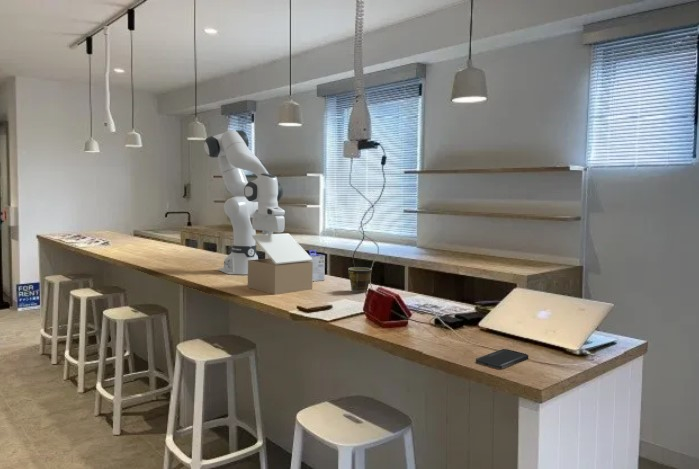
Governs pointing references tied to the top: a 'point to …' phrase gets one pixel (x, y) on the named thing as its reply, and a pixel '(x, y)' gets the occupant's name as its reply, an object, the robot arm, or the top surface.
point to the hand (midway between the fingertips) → (267, 241)
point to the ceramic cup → (359, 279)
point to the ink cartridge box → (317, 266)
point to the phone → (502, 358)
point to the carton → (279, 276)
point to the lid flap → (282, 248)
